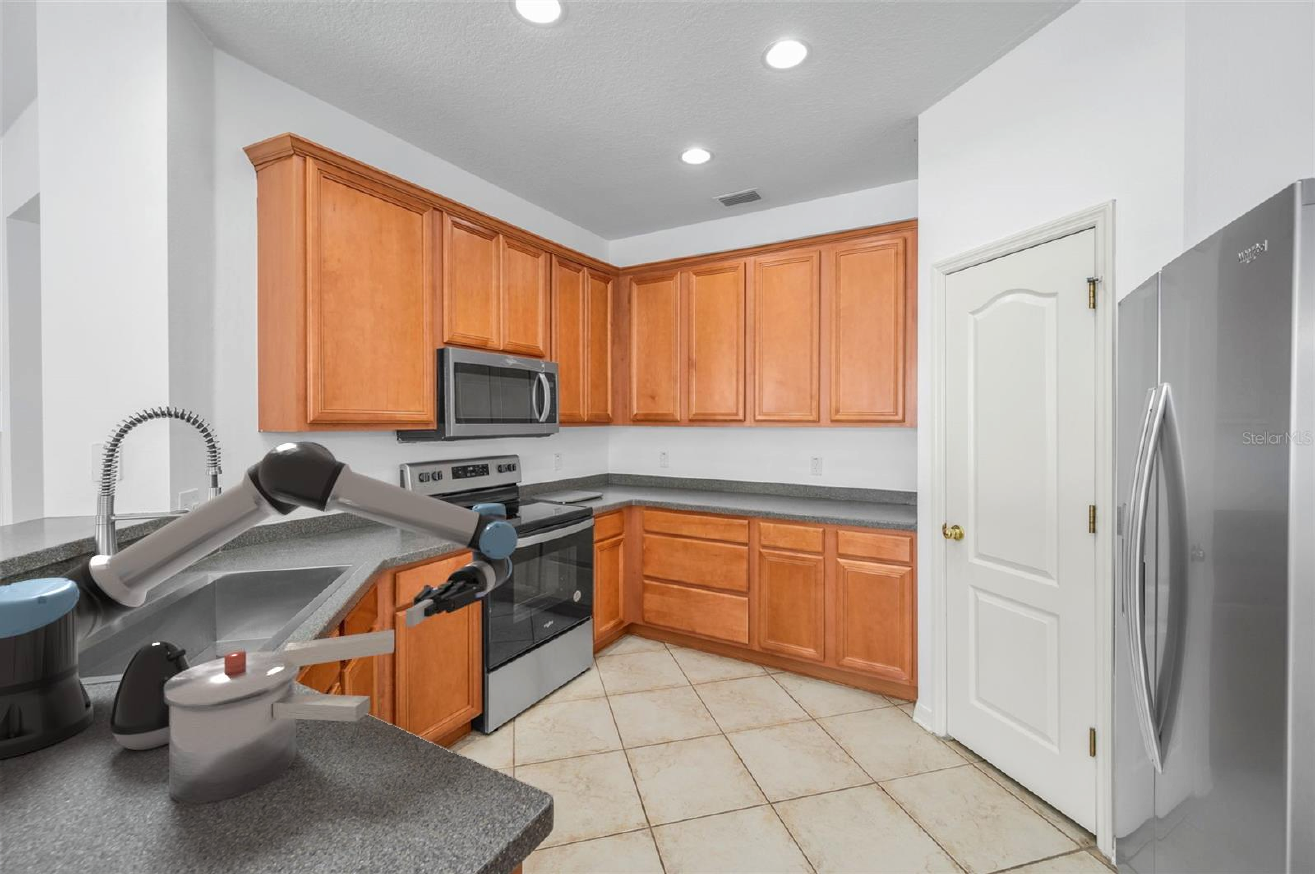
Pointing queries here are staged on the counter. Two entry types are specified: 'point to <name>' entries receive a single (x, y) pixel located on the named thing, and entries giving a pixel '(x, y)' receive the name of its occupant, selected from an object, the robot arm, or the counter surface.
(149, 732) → the pump dispenser
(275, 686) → the lid
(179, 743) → the cooker pot
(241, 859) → the counter surface
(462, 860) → the counter surface
